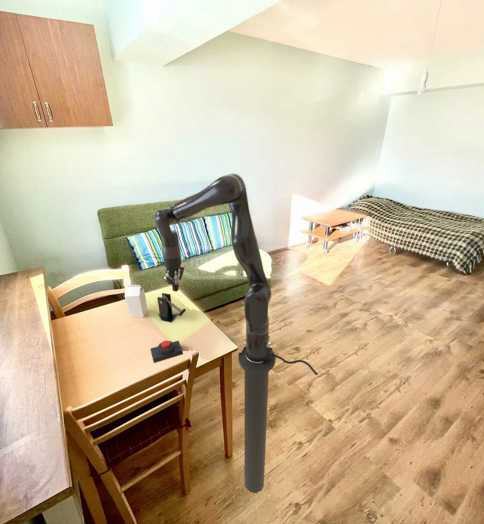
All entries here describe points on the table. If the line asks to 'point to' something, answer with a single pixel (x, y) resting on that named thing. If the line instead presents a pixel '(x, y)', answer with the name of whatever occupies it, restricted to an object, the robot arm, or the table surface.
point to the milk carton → (136, 301)
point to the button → (165, 344)
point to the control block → (166, 352)
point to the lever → (174, 306)
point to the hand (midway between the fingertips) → (175, 290)
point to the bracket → (165, 309)
